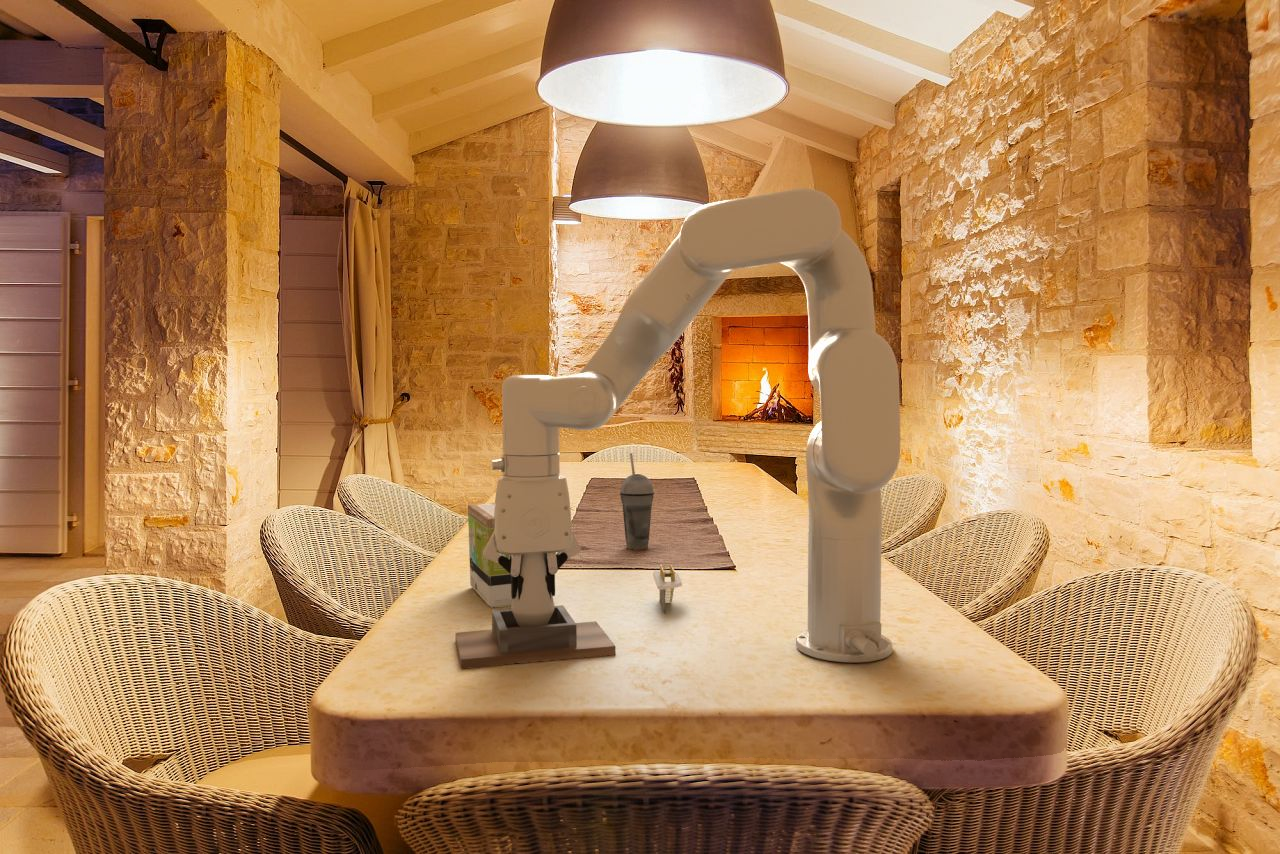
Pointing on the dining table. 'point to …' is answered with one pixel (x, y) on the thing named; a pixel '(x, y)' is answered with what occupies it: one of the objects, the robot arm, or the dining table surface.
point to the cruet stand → (532, 641)
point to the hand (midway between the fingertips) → (533, 601)
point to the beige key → (666, 584)
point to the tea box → (484, 572)
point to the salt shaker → (533, 593)
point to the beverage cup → (637, 509)
